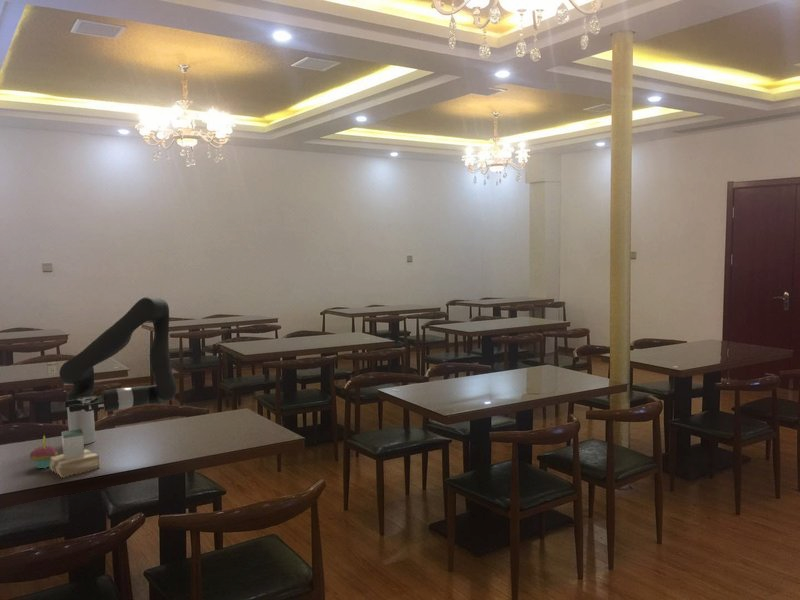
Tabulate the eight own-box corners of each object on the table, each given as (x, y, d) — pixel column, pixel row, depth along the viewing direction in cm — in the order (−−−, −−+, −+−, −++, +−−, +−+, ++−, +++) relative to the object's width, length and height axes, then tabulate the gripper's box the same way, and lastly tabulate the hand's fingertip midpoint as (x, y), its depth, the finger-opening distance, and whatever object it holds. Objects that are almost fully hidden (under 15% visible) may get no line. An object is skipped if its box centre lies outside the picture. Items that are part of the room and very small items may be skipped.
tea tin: (63, 455, 224) (61, 431, 224) (82, 452, 227) (80, 428, 227) (64, 460, 219) (63, 435, 218) (84, 456, 222) (82, 432, 222)
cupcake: (62, 465, 227) (59, 432, 226) (35, 472, 221) (33, 438, 220) (52, 461, 233) (50, 428, 232) (26, 467, 227) (24, 433, 226)
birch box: (50, 471, 223) (49, 457, 223) (86, 462, 232) (85, 448, 232) (62, 479, 215) (61, 464, 215) (99, 469, 224) (98, 455, 223)
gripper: (112, 385, 236) (62, 392, 226) (121, 391, 224) (70, 399, 215) (113, 405, 236) (64, 413, 227) (123, 413, 225) (71, 421, 215)
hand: (67, 406), depth 221 cm, fingers open, 8 cm apart
